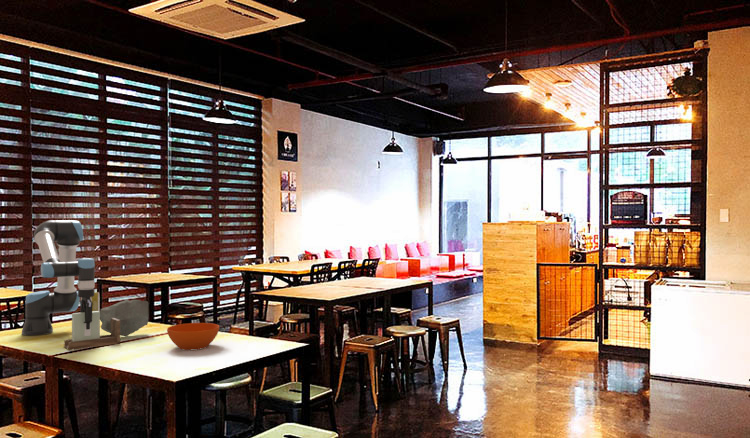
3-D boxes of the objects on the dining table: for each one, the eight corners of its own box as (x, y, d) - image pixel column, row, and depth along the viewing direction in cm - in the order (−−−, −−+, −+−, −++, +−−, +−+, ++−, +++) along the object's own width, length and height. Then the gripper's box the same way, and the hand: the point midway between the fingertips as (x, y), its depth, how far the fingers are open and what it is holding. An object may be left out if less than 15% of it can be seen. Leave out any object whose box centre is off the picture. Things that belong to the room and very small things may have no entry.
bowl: (204, 339, 310) (204, 321, 310) (228, 347, 292) (228, 327, 292) (158, 346, 293) (158, 327, 293) (181, 355, 275) (181, 333, 275)
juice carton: (101, 332, 331) (101, 290, 331) (88, 334, 325) (88, 291, 325) (91, 330, 336) (92, 289, 336) (78, 332, 330) (78, 290, 330)
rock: (102, 340, 307) (102, 303, 307) (97, 339, 311) (97, 301, 311) (151, 333, 326) (151, 298, 327) (145, 332, 331) (145, 297, 331)
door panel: (71, 341, 292) (72, 313, 292) (97, 338, 300) (97, 310, 300) (74, 342, 289) (74, 314, 289) (99, 339, 297) (99, 311, 297)
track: (63, 346, 292) (64, 322, 293) (113, 340, 308) (113, 317, 308) (69, 350, 285) (69, 325, 285) (120, 343, 301) (120, 320, 301)
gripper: (73, 287, 299) (73, 333, 299) (83, 290, 286) (82, 338, 286) (89, 286, 304) (89, 331, 304) (99, 289, 291) (99, 336, 291)
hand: (86, 334), depth 295 cm, fingers closed on door panel, 4 cm apart
